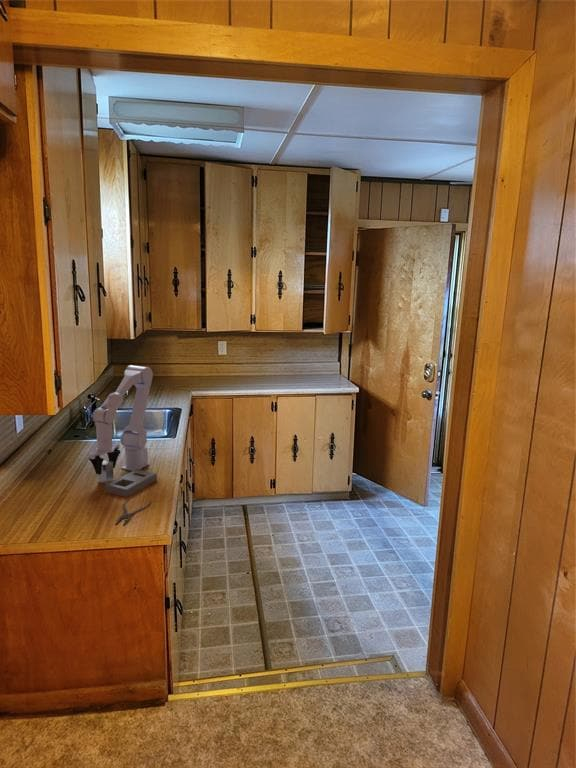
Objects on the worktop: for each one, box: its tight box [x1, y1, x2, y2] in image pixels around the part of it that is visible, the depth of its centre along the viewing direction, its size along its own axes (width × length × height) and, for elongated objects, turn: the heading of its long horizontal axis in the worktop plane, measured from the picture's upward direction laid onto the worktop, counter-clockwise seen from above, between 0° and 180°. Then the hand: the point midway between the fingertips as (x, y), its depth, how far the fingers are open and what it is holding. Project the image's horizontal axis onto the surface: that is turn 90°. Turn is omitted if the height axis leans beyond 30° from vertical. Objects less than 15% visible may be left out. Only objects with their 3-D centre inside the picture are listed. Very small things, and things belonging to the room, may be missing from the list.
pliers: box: [114, 498, 153, 527], centre depth 169 cm, size 10×1×20 cm
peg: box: [97, 459, 115, 485], centre depth 192 cm, size 4×4×8 cm
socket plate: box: [104, 469, 158, 498], centre depth 189 cm, size 18×10×3 cm, turn 158°
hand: (105, 470), depth 192 cm, fingers open, 7 cm apart
